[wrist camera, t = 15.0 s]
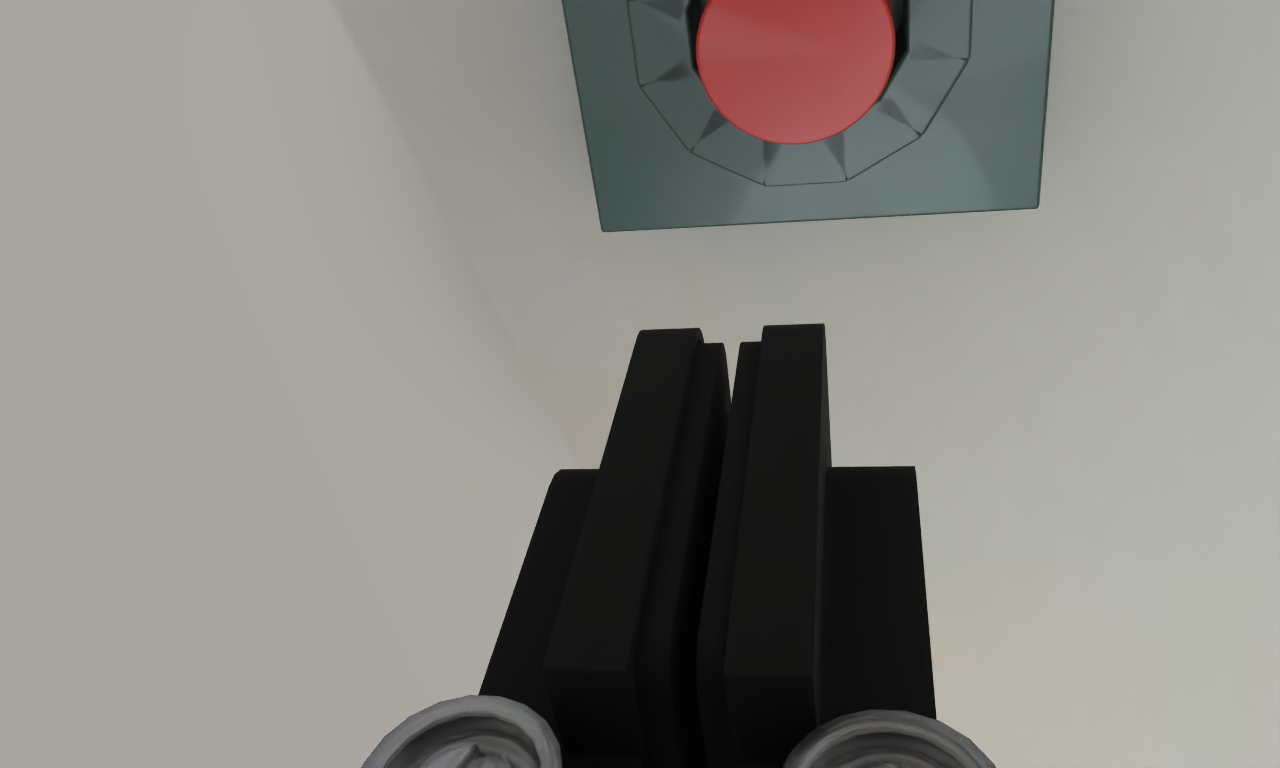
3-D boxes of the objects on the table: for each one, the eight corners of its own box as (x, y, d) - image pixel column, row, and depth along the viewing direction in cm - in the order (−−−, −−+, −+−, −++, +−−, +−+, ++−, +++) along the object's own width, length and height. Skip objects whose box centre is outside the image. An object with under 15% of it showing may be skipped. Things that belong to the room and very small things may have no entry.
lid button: (714, 118, 22) (705, 151, 21) (696, -64, 20) (684, -41, 19) (892, 105, 22) (895, 138, 20) (891, -85, 20) (895, -63, 18)
